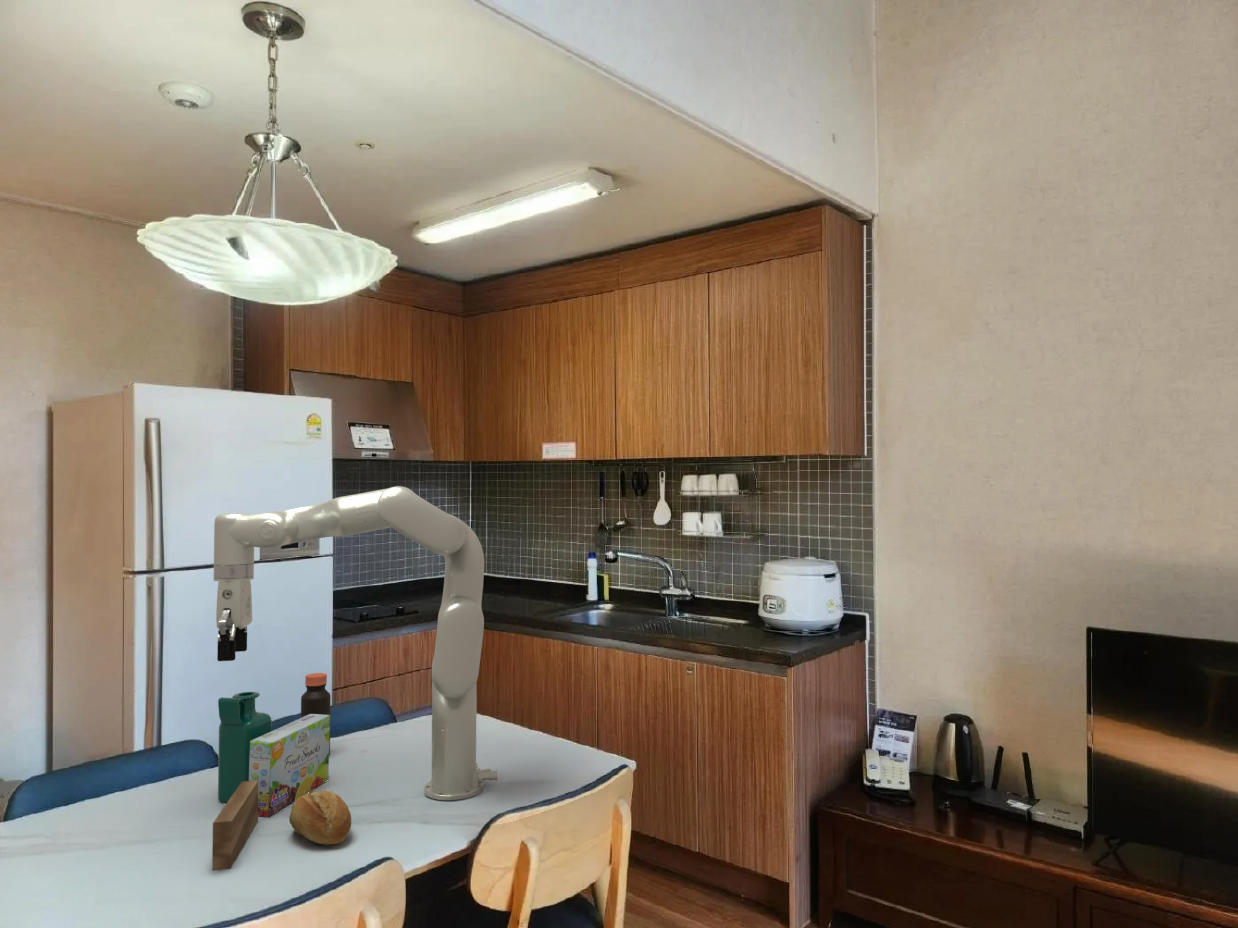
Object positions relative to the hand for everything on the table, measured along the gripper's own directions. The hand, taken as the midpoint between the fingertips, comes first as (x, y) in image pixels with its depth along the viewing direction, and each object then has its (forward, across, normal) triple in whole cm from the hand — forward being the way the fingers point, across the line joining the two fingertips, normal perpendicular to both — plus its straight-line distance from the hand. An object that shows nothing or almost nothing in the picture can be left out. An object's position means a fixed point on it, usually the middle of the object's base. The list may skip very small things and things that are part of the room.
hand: (232, 655), depth 163 cm
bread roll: (+32, -18, -20) cm, 41 cm away
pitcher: (+31, +6, -1) cm, 32 cm away
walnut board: (+31, -18, -5) cm, 36 cm away
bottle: (+31, +30, -12) cm, 45 cm away
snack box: (+32, +4, -11) cm, 34 cm away
